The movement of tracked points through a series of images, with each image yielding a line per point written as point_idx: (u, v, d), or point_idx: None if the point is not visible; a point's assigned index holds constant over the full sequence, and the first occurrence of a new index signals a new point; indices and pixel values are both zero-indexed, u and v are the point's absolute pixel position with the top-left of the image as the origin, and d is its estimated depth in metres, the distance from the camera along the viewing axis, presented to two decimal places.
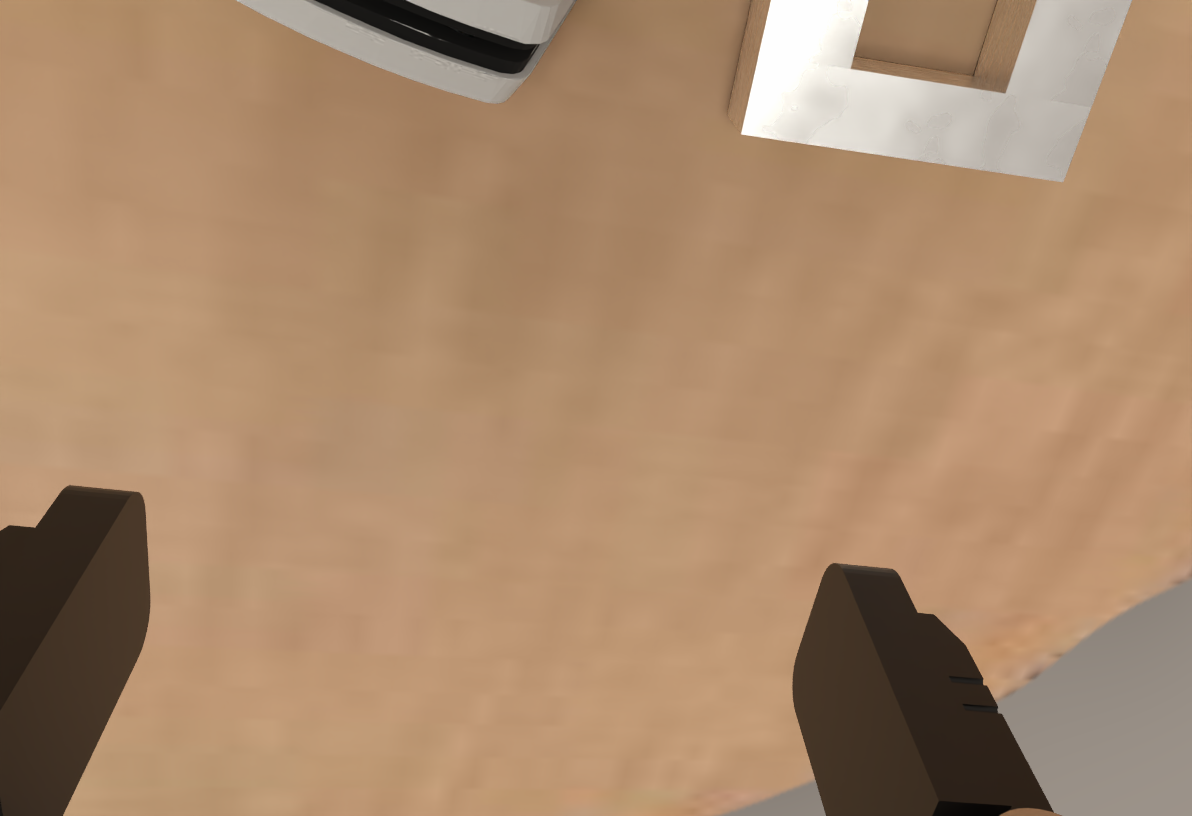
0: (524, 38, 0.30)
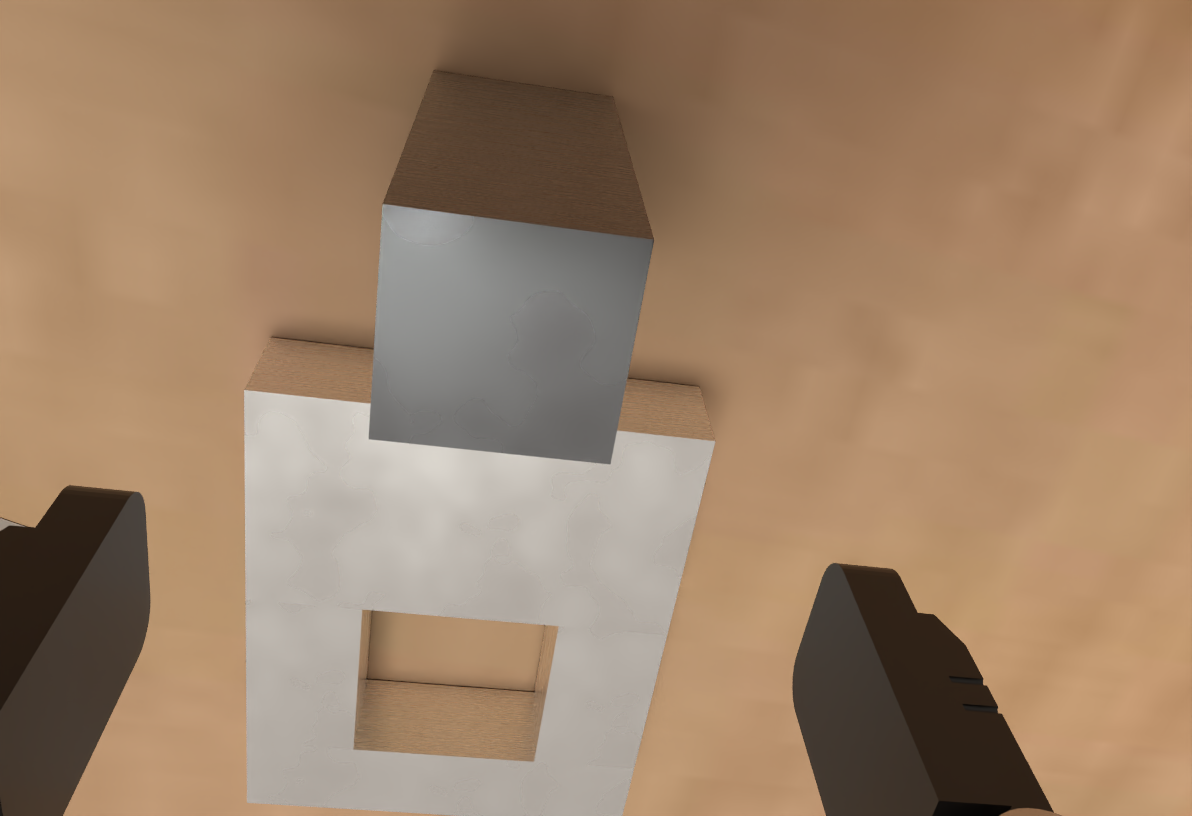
0: None
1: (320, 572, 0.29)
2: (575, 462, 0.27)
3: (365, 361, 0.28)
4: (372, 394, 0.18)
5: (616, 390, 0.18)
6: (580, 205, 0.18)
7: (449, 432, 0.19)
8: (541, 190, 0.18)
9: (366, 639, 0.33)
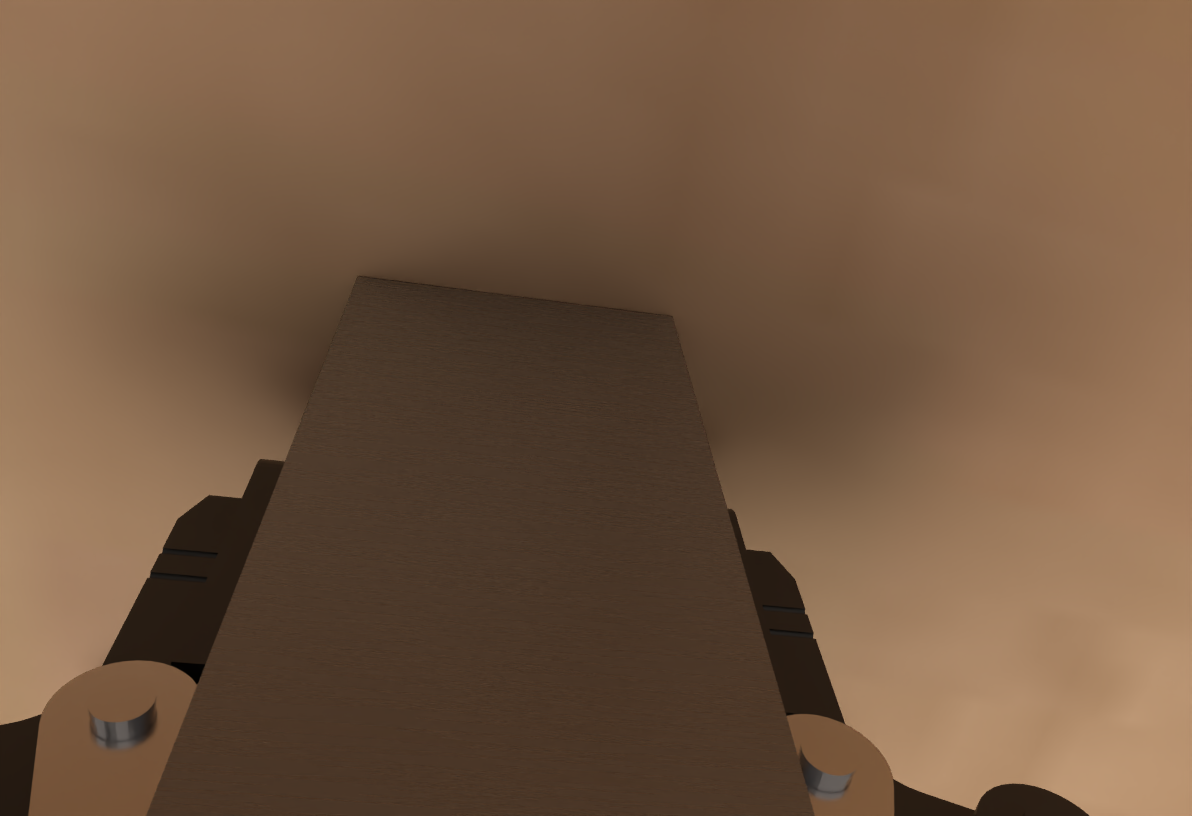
0: None
1: None
2: None
3: None
4: None
5: None
6: None
7: None
8: (553, 754, 0.07)
9: None
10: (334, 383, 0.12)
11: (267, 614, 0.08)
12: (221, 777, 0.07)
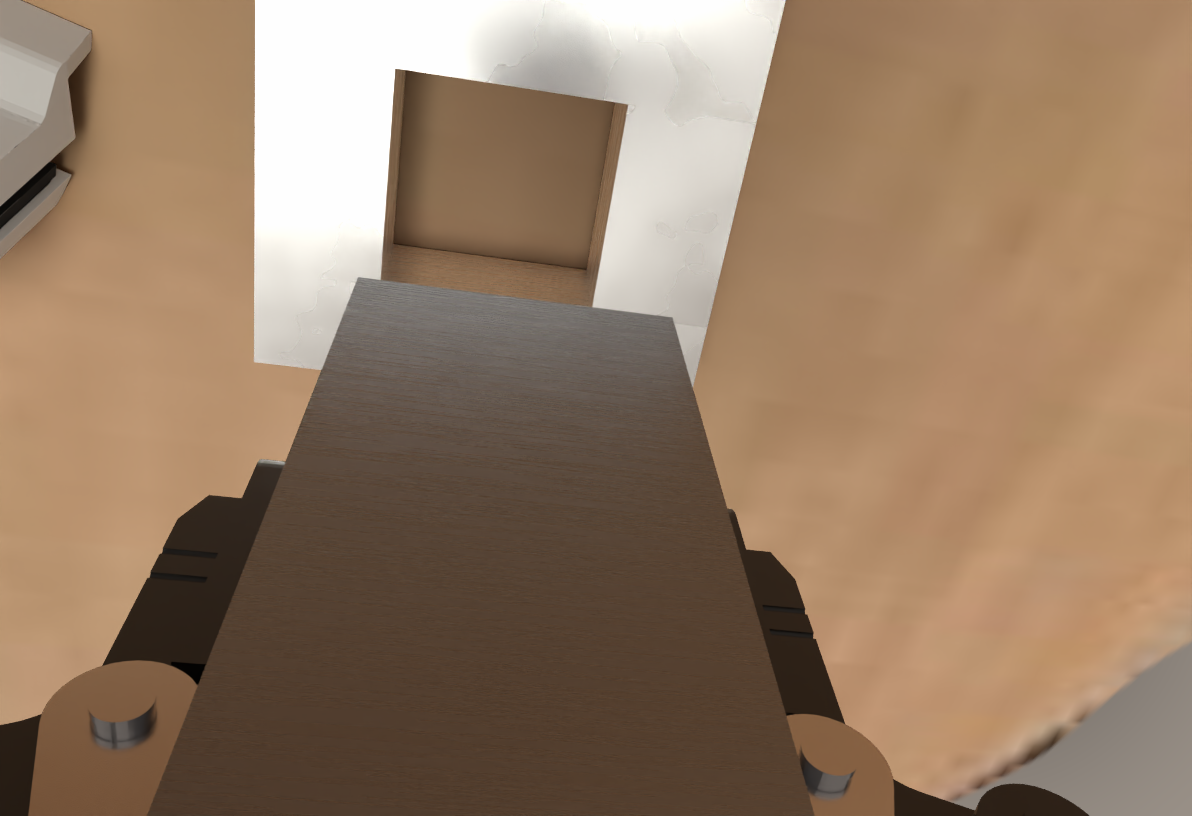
0: None
1: (345, 6, 0.24)
2: None
3: None
4: None
5: None
6: None
7: None
8: (555, 755, 0.07)
9: (395, 162, 0.28)
10: (334, 384, 0.12)
11: (267, 616, 0.08)
12: (221, 779, 0.07)
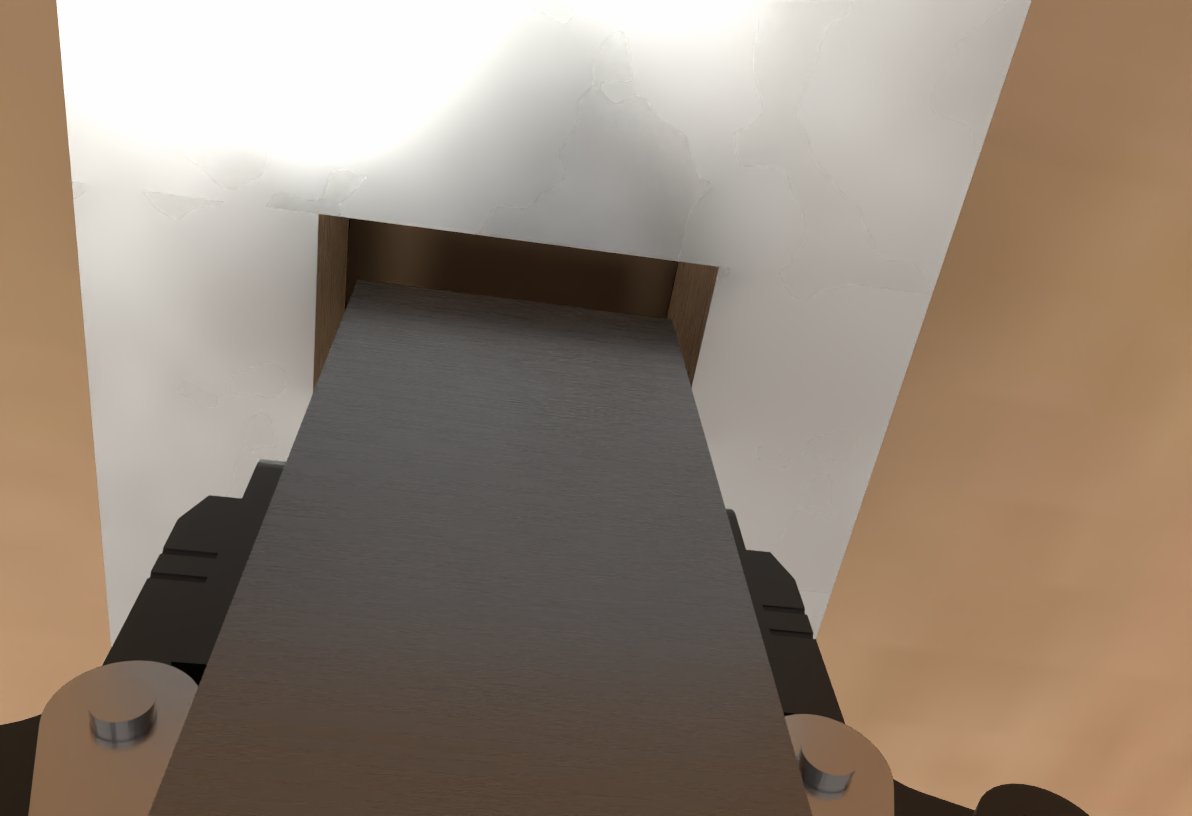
0: None
1: (227, 113, 0.13)
2: None
3: None
4: None
5: None
6: None
7: None
8: (553, 759, 0.07)
9: None
10: (334, 387, 0.12)
11: (267, 619, 0.08)
12: (221, 783, 0.07)
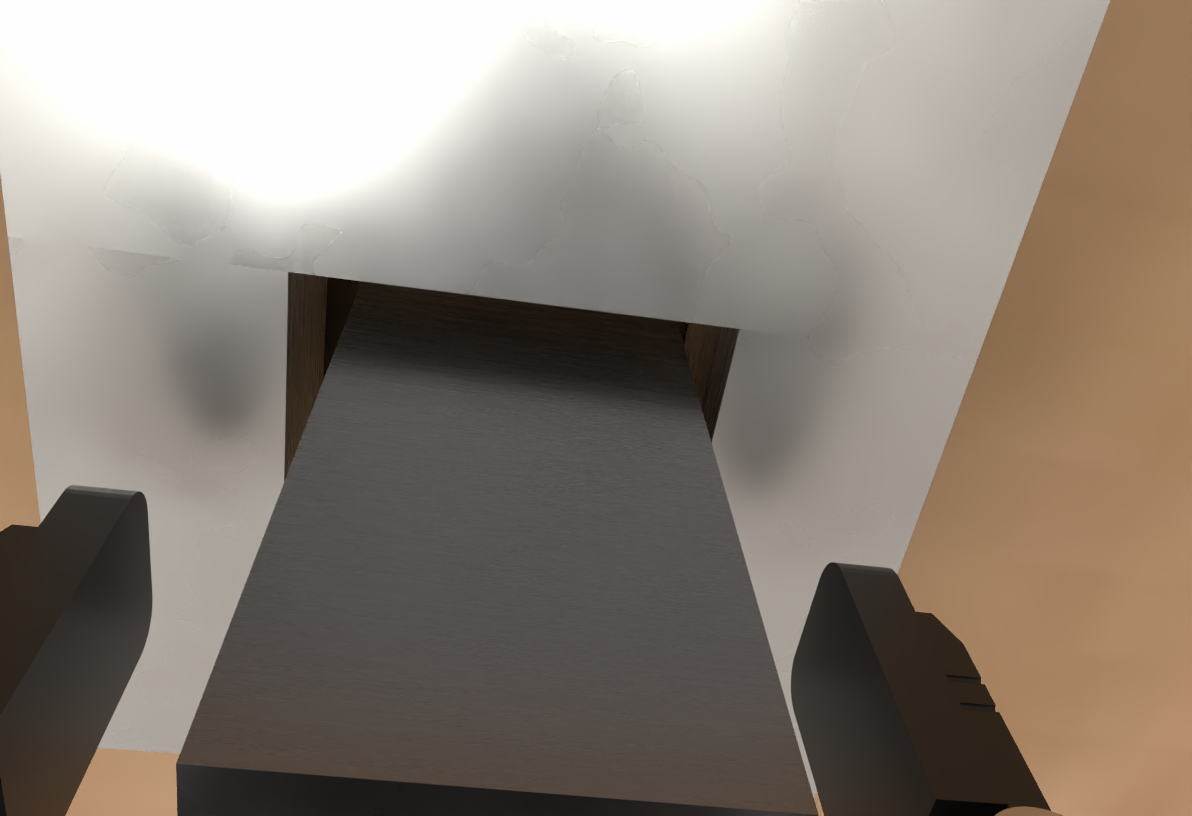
0: None
1: (183, 160, 0.12)
2: None
3: None
4: None
5: None
6: (642, 672, 0.08)
7: None
8: (557, 620, 0.09)
9: (311, 402, 0.16)
10: (359, 328, 0.13)
11: (310, 508, 0.10)
12: (279, 627, 0.08)
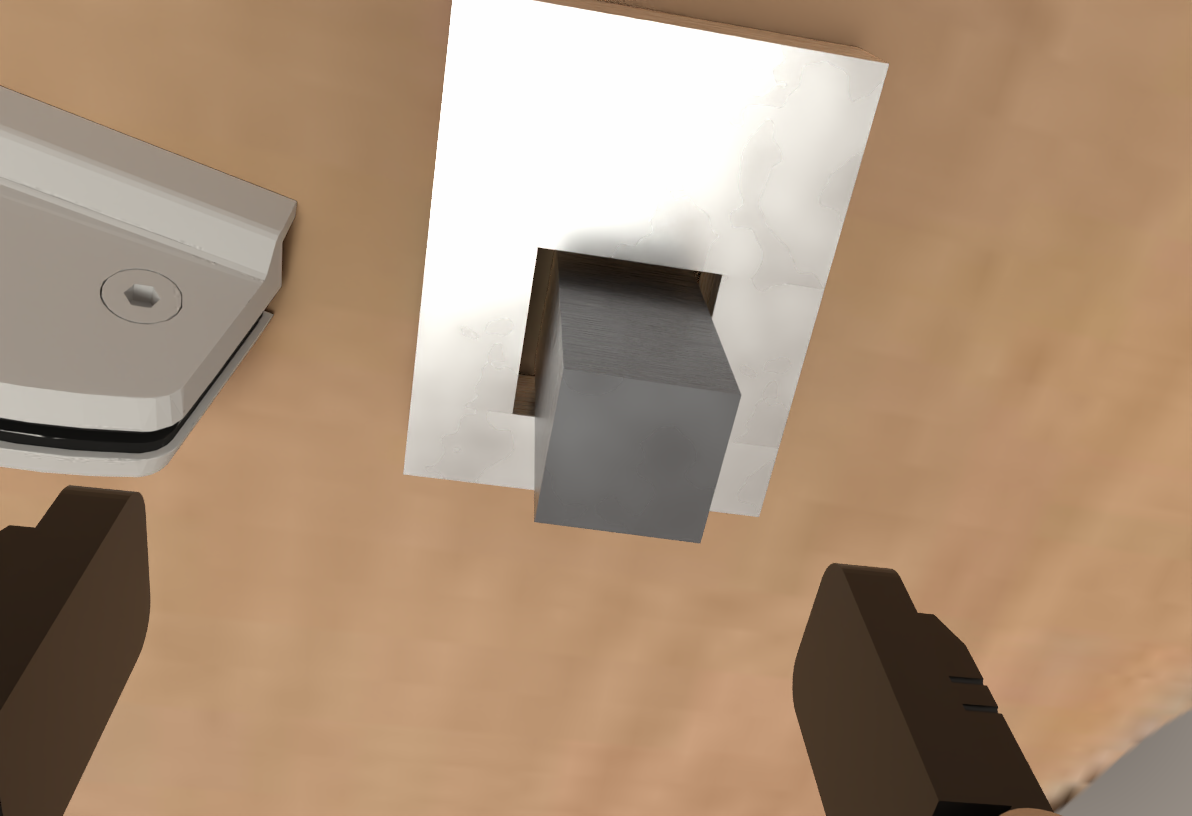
0: (147, 427, 0.28)
1: (502, 201, 0.30)
2: (756, 83, 0.29)
3: None
4: (539, 491, 0.27)
5: (708, 492, 0.27)
6: (688, 366, 0.26)
7: (590, 518, 0.27)
8: (660, 353, 0.27)
9: None
10: (564, 271, 0.31)
11: (572, 322, 0.28)
12: (576, 347, 0.26)
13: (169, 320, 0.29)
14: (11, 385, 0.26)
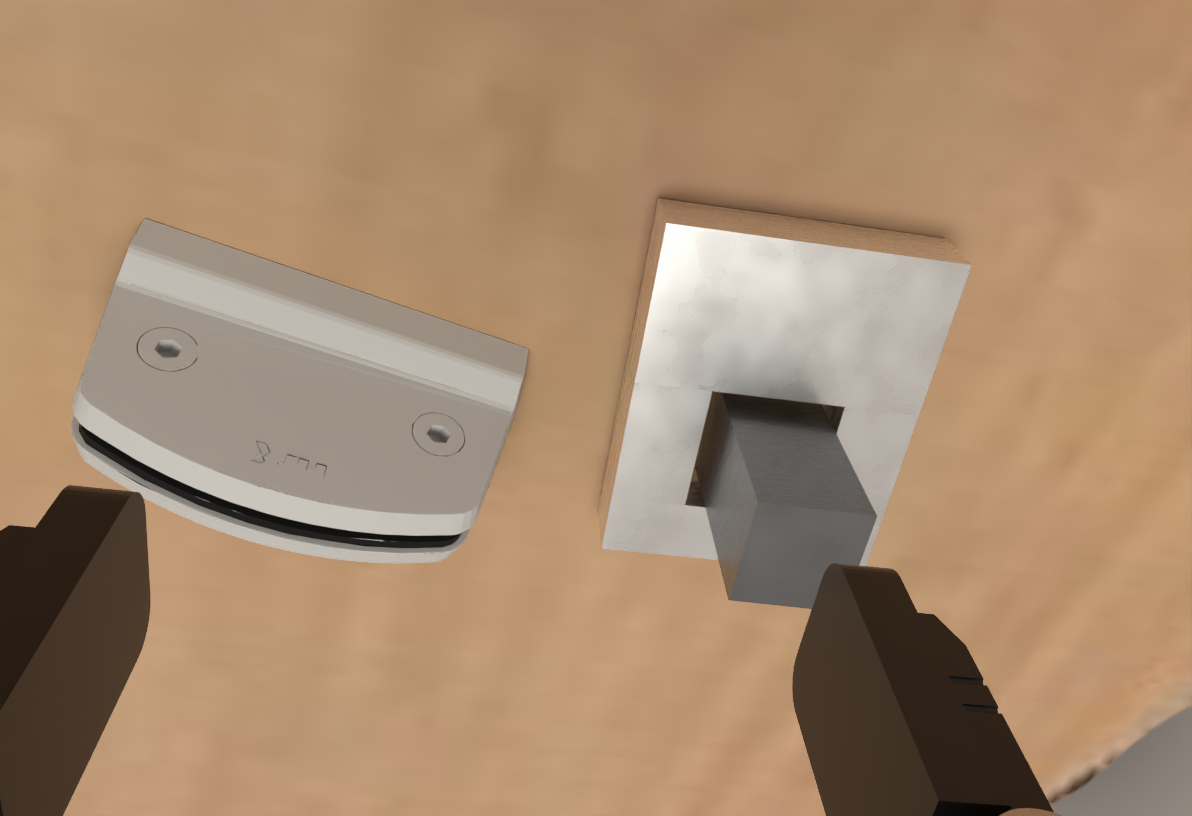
0: (455, 532, 0.40)
1: (689, 361, 0.41)
2: (875, 280, 0.40)
3: (726, 213, 0.41)
4: (733, 579, 0.38)
5: None
6: (836, 492, 0.38)
7: (767, 597, 0.39)
8: (815, 482, 0.38)
9: None
10: (730, 407, 0.43)
11: (750, 457, 0.39)
12: (760, 481, 0.38)
13: (458, 451, 0.41)
14: (375, 511, 0.38)
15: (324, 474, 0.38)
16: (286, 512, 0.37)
